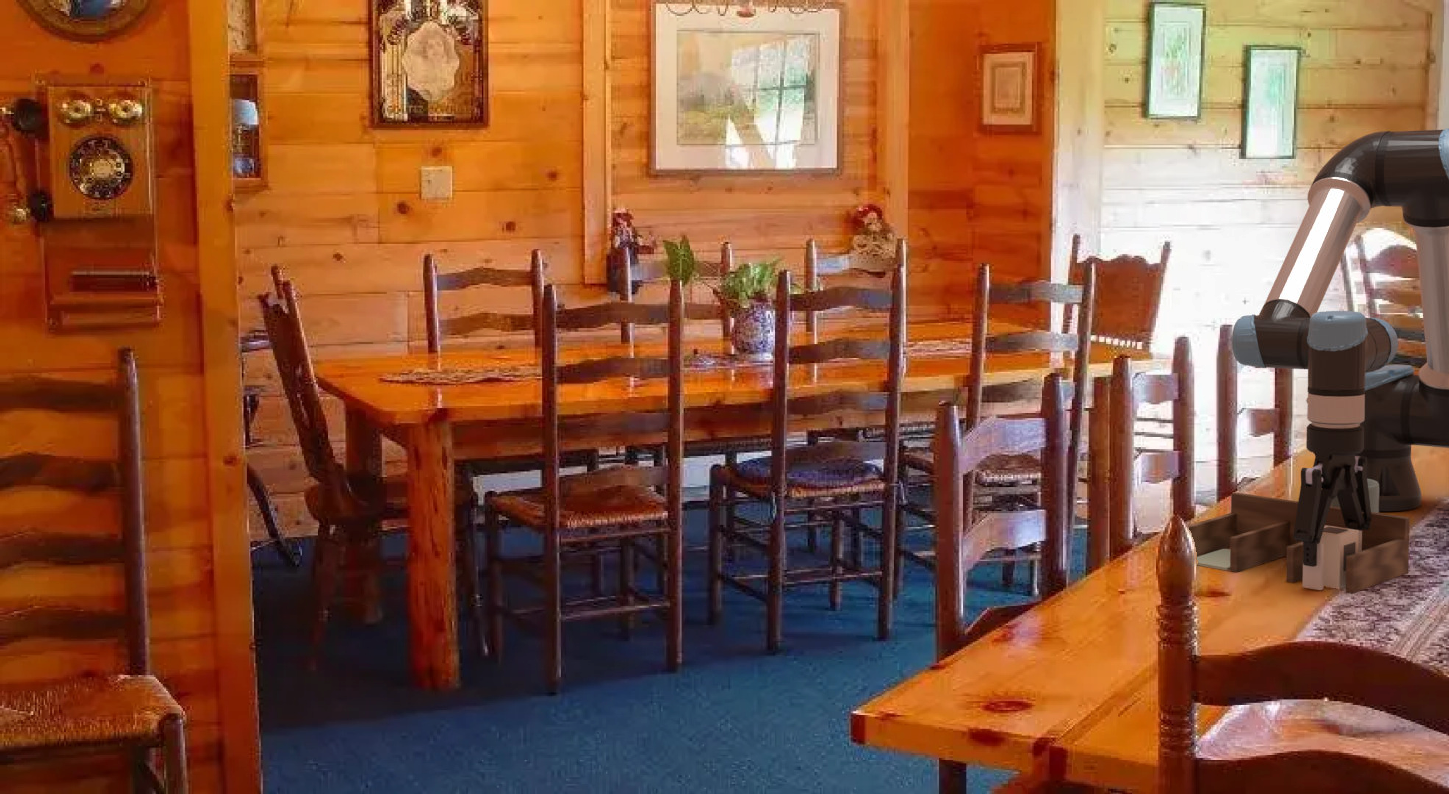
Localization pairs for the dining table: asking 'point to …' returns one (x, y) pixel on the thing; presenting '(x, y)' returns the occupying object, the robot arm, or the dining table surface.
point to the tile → (1216, 559)
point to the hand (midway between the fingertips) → (1332, 581)
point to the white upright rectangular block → (1337, 554)
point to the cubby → (1268, 535)
